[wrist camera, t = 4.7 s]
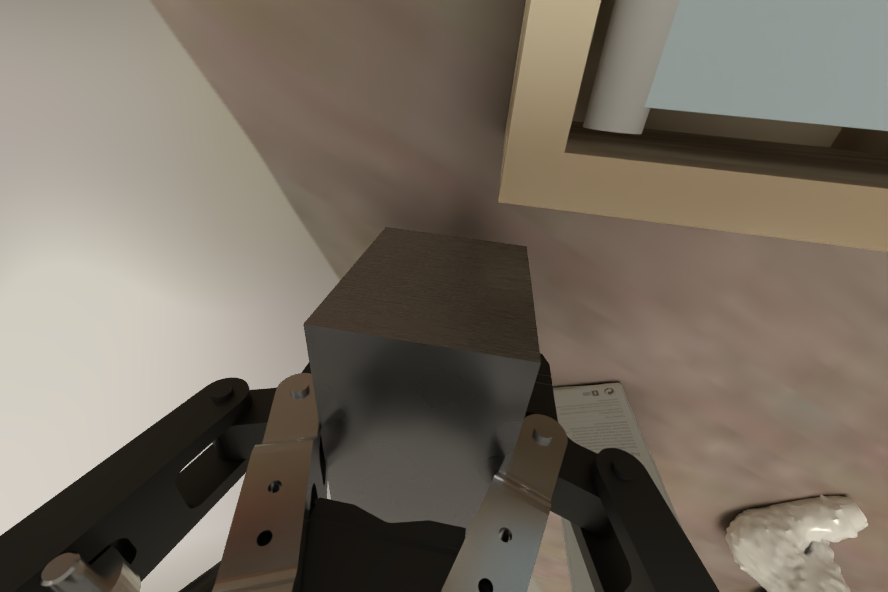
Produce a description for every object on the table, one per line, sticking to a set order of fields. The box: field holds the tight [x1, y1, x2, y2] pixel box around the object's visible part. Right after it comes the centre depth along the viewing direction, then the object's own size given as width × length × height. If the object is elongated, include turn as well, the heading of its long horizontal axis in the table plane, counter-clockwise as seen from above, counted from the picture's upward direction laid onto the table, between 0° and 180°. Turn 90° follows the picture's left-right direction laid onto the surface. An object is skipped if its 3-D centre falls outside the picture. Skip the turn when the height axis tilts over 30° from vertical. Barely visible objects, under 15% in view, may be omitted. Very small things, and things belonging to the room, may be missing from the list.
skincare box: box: [553, 383, 683, 592], centre depth 22 cm, size 8×6×15 cm
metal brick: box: [304, 227, 541, 538], centre depth 12 cm, size 8×5×6 cm, turn 175°
